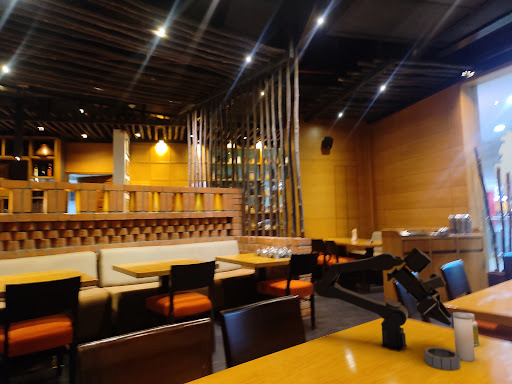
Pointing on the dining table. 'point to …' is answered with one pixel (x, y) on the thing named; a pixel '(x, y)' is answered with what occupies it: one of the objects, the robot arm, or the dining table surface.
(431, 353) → the collar
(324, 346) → the dining table surface
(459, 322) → the duct sleeve
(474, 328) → the supplement bottle
